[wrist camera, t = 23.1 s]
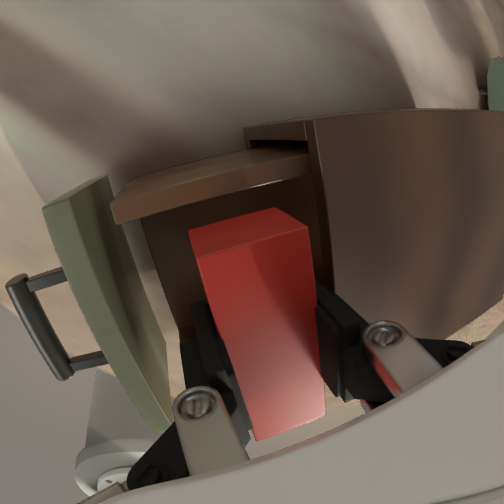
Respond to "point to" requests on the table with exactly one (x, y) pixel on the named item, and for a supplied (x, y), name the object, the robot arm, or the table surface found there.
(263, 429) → the red rectangular block
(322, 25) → the table surface
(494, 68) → the character figurine
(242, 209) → the drawer
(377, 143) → the cabinet
